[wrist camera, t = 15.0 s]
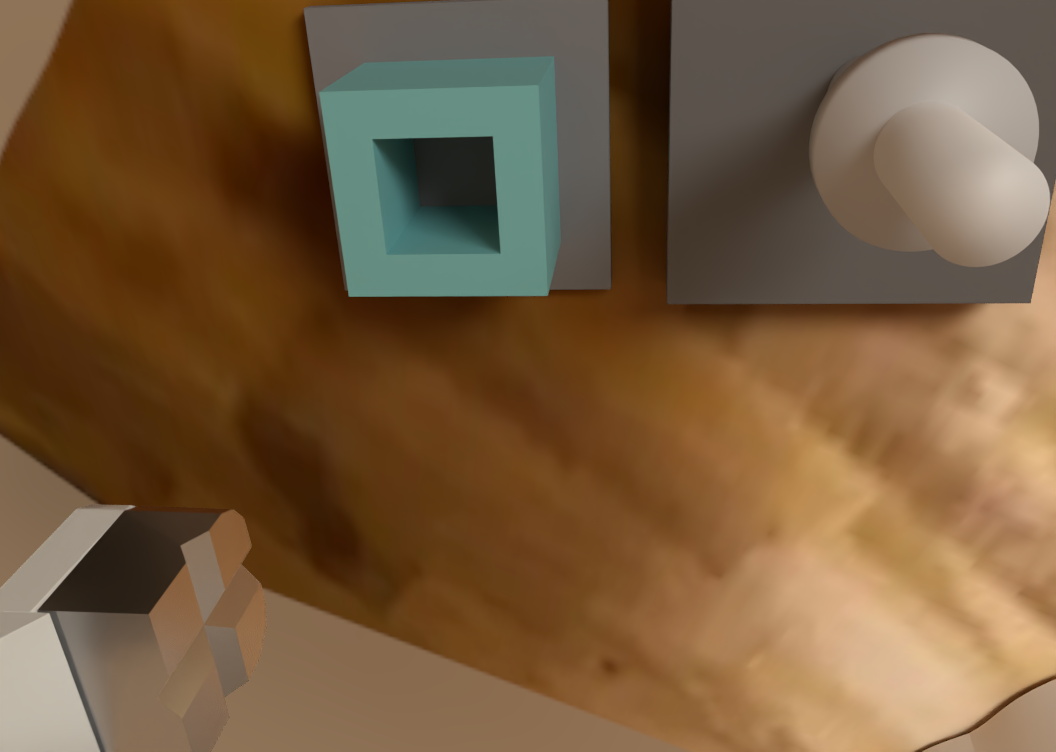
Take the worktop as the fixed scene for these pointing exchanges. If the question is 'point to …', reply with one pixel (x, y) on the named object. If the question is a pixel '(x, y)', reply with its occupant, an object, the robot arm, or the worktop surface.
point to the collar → (392, 188)
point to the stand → (859, 150)
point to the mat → (468, 162)
